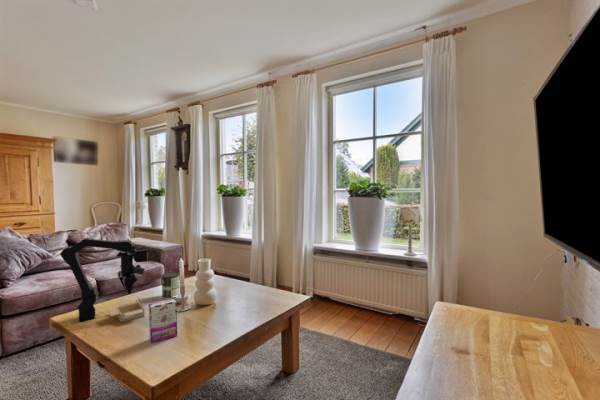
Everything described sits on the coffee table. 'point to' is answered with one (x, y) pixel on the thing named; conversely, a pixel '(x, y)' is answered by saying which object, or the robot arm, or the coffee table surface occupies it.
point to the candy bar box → (162, 320)
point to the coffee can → (170, 285)
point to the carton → (128, 312)
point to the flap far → (140, 301)
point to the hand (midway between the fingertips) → (127, 291)
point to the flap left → (126, 302)
